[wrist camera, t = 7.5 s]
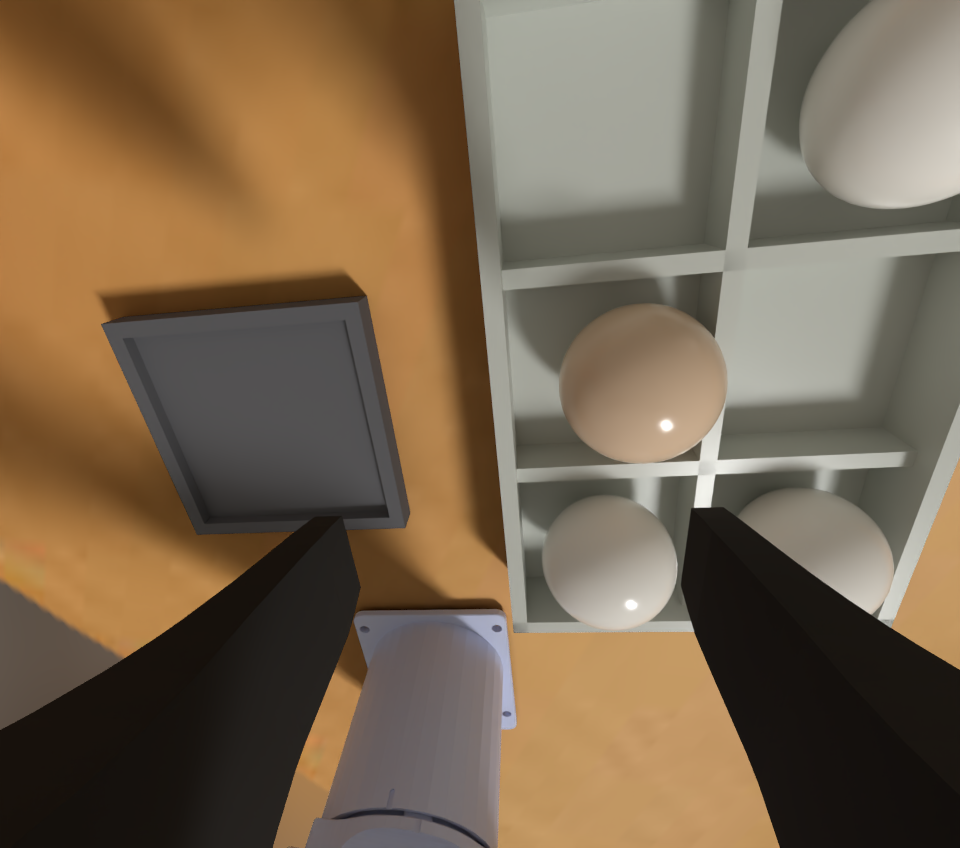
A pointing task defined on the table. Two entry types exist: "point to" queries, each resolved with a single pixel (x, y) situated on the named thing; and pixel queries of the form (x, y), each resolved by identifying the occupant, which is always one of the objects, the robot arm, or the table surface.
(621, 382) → the beige ball
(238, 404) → the coaster
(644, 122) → the tray
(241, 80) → the table surface
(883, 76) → the white egg
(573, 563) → the white egg
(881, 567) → the white egg
